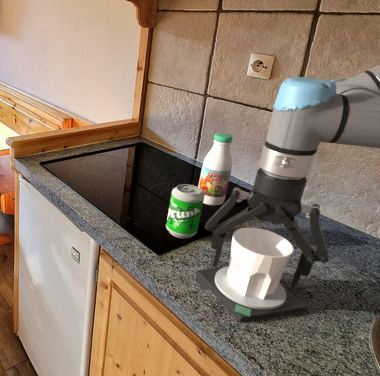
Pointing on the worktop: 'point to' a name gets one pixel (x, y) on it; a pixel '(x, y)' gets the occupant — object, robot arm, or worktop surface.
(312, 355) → the worktop surface
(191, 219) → the soda can
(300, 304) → the scale
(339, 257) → the worktop surface
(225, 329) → the worktop surface
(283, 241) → the cup
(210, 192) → the milk bottle
